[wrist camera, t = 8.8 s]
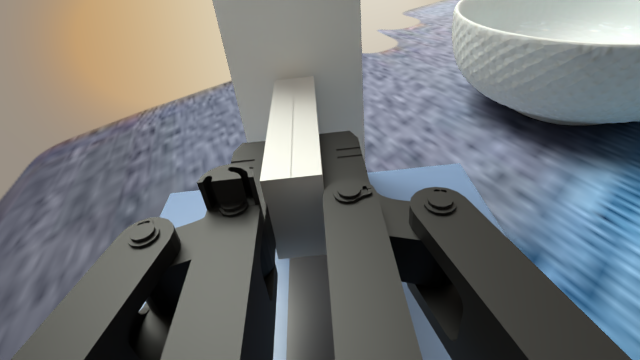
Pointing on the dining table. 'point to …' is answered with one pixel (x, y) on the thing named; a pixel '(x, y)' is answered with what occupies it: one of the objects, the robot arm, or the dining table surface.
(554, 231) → the dining table surface
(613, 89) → the cereal bowl
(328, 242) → the robot arm
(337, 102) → the white upright block
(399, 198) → the switch board
